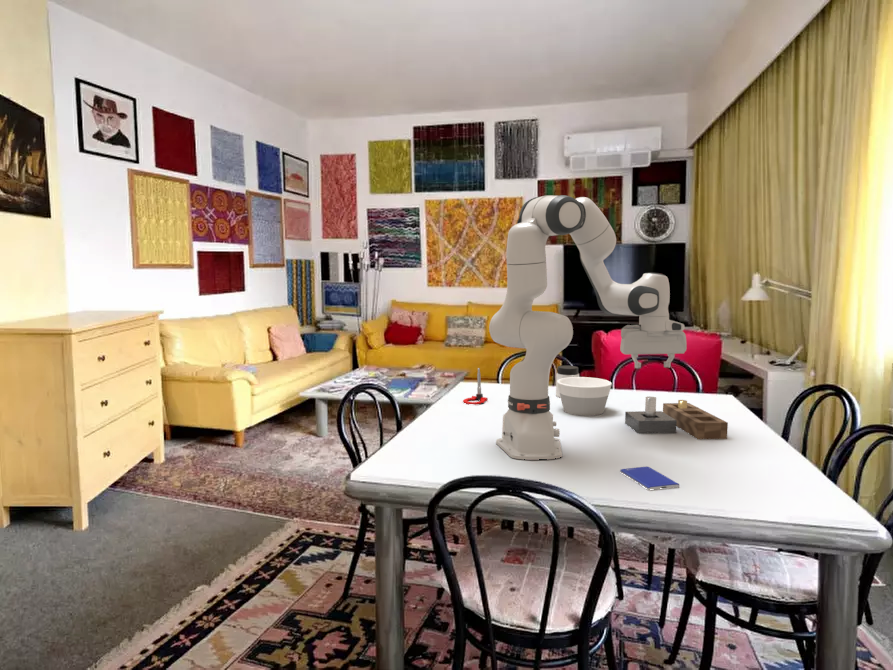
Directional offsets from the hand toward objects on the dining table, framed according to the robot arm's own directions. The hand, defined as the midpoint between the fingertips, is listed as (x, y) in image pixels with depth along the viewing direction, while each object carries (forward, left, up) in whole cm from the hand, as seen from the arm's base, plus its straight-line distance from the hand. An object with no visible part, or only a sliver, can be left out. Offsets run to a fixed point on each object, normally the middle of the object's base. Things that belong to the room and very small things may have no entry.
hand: (652, 367), depth 187 cm
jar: (+48, +15, -20) cm, 54 cm away
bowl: (+24, +15, -20) cm, 35 cm away
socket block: (0, 0, -20) cm, 20 cm away
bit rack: (0, -14, -20) cm, 24 cm away
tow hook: (+40, +53, -20) cm, 69 cm away
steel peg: (0, 0, -20) cm, 20 cm away
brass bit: (+8, -14, -20) cm, 25 cm away
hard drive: (-46, +18, -20) cm, 54 cm away
